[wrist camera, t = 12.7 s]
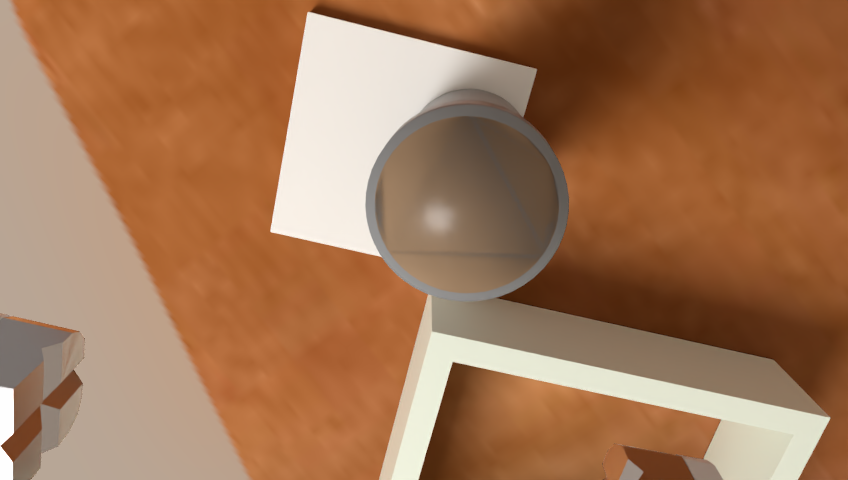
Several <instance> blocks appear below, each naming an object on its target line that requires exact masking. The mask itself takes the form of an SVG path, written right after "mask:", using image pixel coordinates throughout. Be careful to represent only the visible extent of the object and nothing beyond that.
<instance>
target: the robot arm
mask: <svg viewBox="0 0 848 480" xmlns="http://www.w3.org/2000/svg"><path fill="white" fill-rule="evenodd" d="M84 343H85V338H84V337H83V335H82V334H81V333H80V331H75V330H71V329H67V328H62V327H58V326H53V325H49V324H45V323H41V322H36V321H32V320H27V319H23V318H19V317H14V316H9V315H6V314H1V313H0V480H30V479H32V477H33V476H34V475H35V474H36V473H37V471H38V470H39V469H40V465H41V453H44V452H46V451H48V450H51V449H53V448H55V447H58V445H59V444H60V443H61V442H62V441H63V439H64V438H65V437H66V435H67V434H68V433H69V431H70V429H71V427H72V425H73V423H74V421H75V418H76V416H77V414H78V411H79V407H80V403H81V398H82V386H83V383H82V382H81V380H80V379H79V377H78V375H77V374H76V373H75V371H74V368H75V367H76V366H77V365H78V364H79V363H80V362H81V361H82V360H83V359H84V345H85V344H84ZM602 465H603V468H604V470H605V473H606V476H607V477H606V478H605V479H603V480H723V479H722V477H721V475H720V474H719V472H718V470H717V469H716V467H715V465H713V464H712V463H711V462H709V461H708V460H705V459H699V458H693V457H687V456H682V455H672V454H667V453H662V452H657V451H651V450H646V449H641V448H636V447H630V446H625V445H620V444H615V443H614V444H613V446H612V447H611V448H610V449H609V450H608V452H607V454H606V456H605V459H604V461H603V463H602Z"/></svg>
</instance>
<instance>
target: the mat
mask: <svg viewBox="0 0 848 480" xmlns="http://www.w3.org/2000/svg"><path fill="white" fill-rule="evenodd" d="M536 72H537V69H535V68H531V67H527V66H523V65H519V64H515V63H511V62H507V61H503V60H500V59H496V58H492V57H488V56H484V55H480V54H476V53H472V52H468V51H464V50H460V49H456V48H452V47H448V46H444V45H440V44H436V43H432V42H428V41H424V40H420V39H416V38H412V37H408V36H404V35H400V34H396V33H392V32H388V31H384V30H380V29H376V28H372V27H368V26H364V25H360V24H356V23H352V22H348V21H344V20H340V19H336V18H332V17H328V16H324V15H320V14H316V13H313V12H308V14H307V20H306V25H305V31H304V37H303V43H302V49H301V55H300V61H299V66H298V72H297V78H296V84H295V90H294V96H293V102H292V108H291V113H290V119H289V125H288V131H287V137H286V143H285V149H284V155H283V160H282V166H281V172H280V178H279V184H278V190H277V196H276V201H275V207H274V213H273V219H272V225H271V231H270V232H273V233H278V234H282V235H287V236H291V237H296V238H300V239H305V240H309V241H314V242H318V243H322V244H327V245H331V246H336V247H340V248H345V249H349V250H354V251H358V252H363V253H367V254H371V255H376V256H380V257H382V256H381V255H380V254H379V252H378V250H377V248H376V246H375V244H374V242H373V240H372V237H371V234H370V231H369V227H368V223H367V219H366V208H365V202H366V190H367V184H368V180H369V177H370V174H371V171H372V168H373V166H374V164H375V162H376V160H377V157H378V156H379V154H380V153H381V151H382V150H383V148H384V147H385V145H386V144H387V142H388V141H389V140H390V138H391V137H392V136H393V135H394V133H395V132H396V131H397V130H398V129H399V128H400V127H401V126H402V125H403V124H404V123H406V122H407V121H408V120H409V119H411V118H412V117H414V116H415V115H417V114H418V113H420V112H421V111H422V109H423V108H424V107H425V106H426V105H428V104H429V103H430V102H431V101H433V100H434V99H436V98H437V97H439V96H441V95H443V94H445V93H448V92H451V91H455V90H460V89H479V90H484V91H488V92H491V93H493V94H496V95H498V96H500V97H502V98H503V99H505V100H506V101H507V102H509V103H510V104H511V105H512V106H513V107H514V108H515V109H516V110H517V111H518V112H519V114H520V115H521V116H522V117H524V113H525V110H526V107H527V103H528V100H529V96H530V93H531V89H532V86H533V82H534V79H535V76H536Z"/></svg>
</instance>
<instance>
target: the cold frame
mask: <svg viewBox="0 0 848 480" xmlns="http://www.w3.org/2000/svg"><path fill="white" fill-rule="evenodd" d="M452 362H456V363H460V364H465V365H470V366H474V367H479V368H484V369H488V370H493V371H498V372H502V373H507V374H512V375H516V376H521V377H526V378H530V379H535V380H540V381H545V382H549V383H554V384H559V385H563V386H568V387H573V388H577V389H582V390H587V391H591V392H596V393H601V394H605V395H610V396H615V397H619V398H624V399H629V400H633V401H638V402H643V403H647V404H652V405H657V406H661V407H666V408H671V409H675V410H680V411H685V412H690V413H694V414H699V415H704V416H708V417H713V418H718V419H722V420H721V422H720V424H719V426H718V428H717V430H716V433H715V435H714V437H713V439H712V441H711V443H710V445H709V448H708V450H707V452H706V454H705V456H704V458H703V459H705V460H708V461H709V462H711V463H712V464H713V465H715V467H716V469H717V470H718V472H719V474H720V475H721V477H722V479H723V480H798V478H799V476H800V475H801V473H802V471H803V469H804V467H805V465H806V463H807V461H808V459H809V458H810V456H811V454H812V452H813V450H814V448H815V446H816V444H817V442H818V441H819V439H820V437H821V435H822V433H823V431H824V429H825V427H826V426H827V424H828V422H829V420H830V417H829V416H828V415H827V414H826V413H825V412H824V411H823V410H822V409H821V408H820V407H819V406H818V405H817V404H816V402H815V401H814V400H813V399H812V398H811V397H810V396H809V395H808V394H807V393H806V392H805V391H804V390H803V389H802V388H801V387H800V386H799V385H798V384H797V383H796V382H795V381H794V380H793V379H792V378H791V377H790V376H789V375H788V374H787V373H786V372H785V371H784V370H783V369H782V368H781V367H780V366H779V365H778V364H777V363H776V362H775V361H774V360H772V359H768V358H763V357H759V356H754V355H750V354H745V353H741V352H736V351H732V350H727V349H723V348H718V347H714V346H709V345H705V344H701V343H696V342H692V341H687V340H683V339H678V338H674V337H669V336H665V335H660V334H656V333H651V332H647V331H642V330H638V329H633V328H629V327H624V326H620V325H615V324H611V323H606V322H602V321H597V320H593V319H588V318H584V317H579V316H575V315H570V314H566V313H561V312H557V311H552V310H548V309H543V308H539V307H534V306H530V305H525V304H521V303H516V302H512V301H507V300H503V299H498V298H492V299H488V300H481V301H467V302H462V301H452V300H447V299H442V298H438V297H435V296H432V295H429V294H428V297H427V301H426V305H425V309H424V312H423V316H422V320H421V324H420V327H419V331H418V335H417V339H416V342H415V346H414V350H413V354H412V357H411V361H410V365H409V369H408V372H407V376H406V380H405V384H404V388H403V391H402V395H401V399H400V403H399V406H398V410H397V414H396V418H395V421H394V425H393V429H392V433H391V436H390V440H389V444H388V448H387V452H386V455H385V459H384V463H383V467H382V470H381V474H380V478H379V480H418V479H419V476H420V473H421V469H422V466H423V462H424V459H425V455H426V452H427V448H428V445H429V442H430V438H431V435H432V431H433V428H434V424H435V421H436V417H437V414H438V411H439V407H440V404H441V400H442V397H443V393H444V390H445V387H446V383H447V380H448V376H449V373H450V369H451V366H452Z"/></svg>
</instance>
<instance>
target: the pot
mask: <svg viewBox="0 0 848 480" xmlns="http://www.w3.org/2000/svg"><path fill="white" fill-rule="evenodd" d="M365 208H366V219H367V223H368V227H369V231H370V234H371V237H372V240H373V242H374V244H375V246H376V248H377V250H378V252H379V254H380V255H381V256H382V258H383V259H384V261H385V262H386V264H387V265H388V266H389V267H390V268H391V269H392V270H393V271H394V272H395V273H396V274H397V275H398V276H399V277H400V278H402V279H403V280H404V281H405V282H407V283H408V284H410V285H411V286H413V287H414V288H416V289H418V290H420V291H422V292H424V293H426V294H429V295H432V296H435V297H438V298H442V299H447V300H452V301H462V302H467V301H481V300H488V299H492V298H496V297H500V296H502V295H505V294H507V293H510V292H512V291H514V290H516V289H518V288H519V287H521V286H523V285H525V284H526V283H527V282H529V281H530V280H531V279H533V278H534V277H535V276H536V275H537V274H538V273H539V272H540V271H541V270H542V269H543V268H544V267H545V266H546V265H547V264H548V262H549V261H550V260H551V258H552V257H553V255H554V254H555V252H556V250H557V249H558V247H559V244H560V242H561V240H562V238H563V235H564V232H565V228H566V225H567V219H568V212H569V196H568V188H567V183H566V180H565V176H564V172H563V170H562V168H561V165H560V163H559V161H558V159H557V157H556V156H555V154H554V152H553V150H552V149H551V147H550V145H549V144H548V142H547V140H546V139H545V138H544V137H543V135H542V134H541V133H540V132H539V131H538V130H537V129H536V128H535V127H534V126H533V125H532V124H531V123H530V122H529V121H527V120H526V119H525V118H523V117H522V116H521V115H520V114H519V112H518V111H517V110H516V109H515V108H514V107H513V106H512V105H511V104H510V103H509V102H507V101H506V100H505V99H503V98H502V97H500V96H498V95H496V94H493V93H491V92H488V91H484V90H479V89H460V90H455V91H451V92H448V93H445V94H443V95H441V96H439V97H437V98H436V99H434V100H433V101H431V102H430V103H429V104H428V105H426V106H425V107H424V108H423V109H422V111H421V112H420V113H418V114H417V115H415V116H414V117H412V118H411V119H409V120H408V121H407V122H406V123H404V124H403V125H402V126H401V127H400V128H399V129H398V130H397V131H396V132H395V133H394V135H393V136H392V137H391V138H390V140H389V141H388V142H387V144H386V145H385V147H384V148H383V150H382V151H381V153H380V154H379V156H378V157H377V160H376V162H375V164H374V166H373V168H372V171H371V174H370V177H369V180H368V184H367V190H366V202H365Z"/></svg>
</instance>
